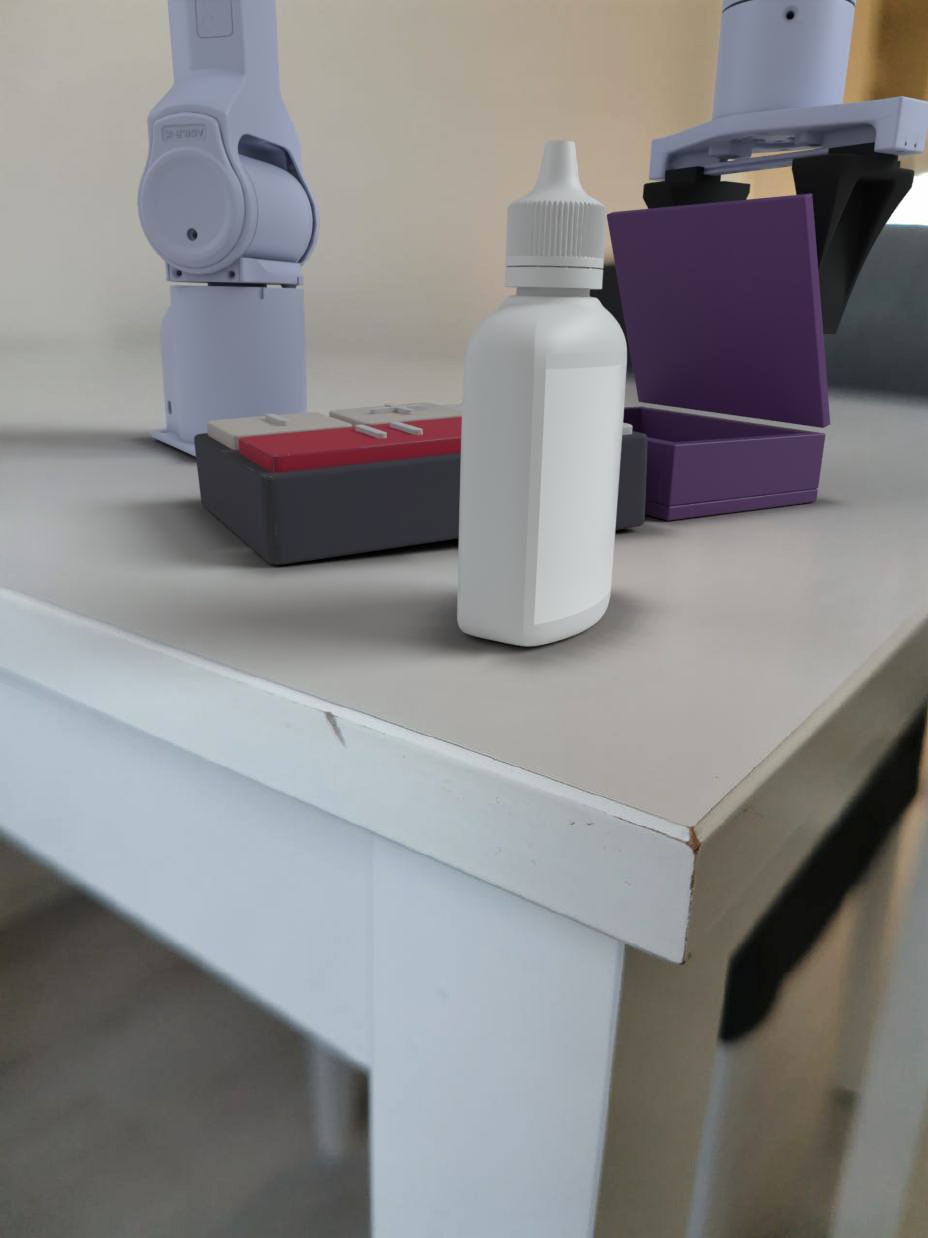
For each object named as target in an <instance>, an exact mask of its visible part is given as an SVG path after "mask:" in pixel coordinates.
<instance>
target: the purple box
mask: <svg viewBox="0 0 928 1238" xmlns="http://www.w3.org/2000/svg"><path fill="white" fill-rule="evenodd" d="M623 423H627V424H630V425H632V431H634V432H639V433H643V434H645V435H647V470H646V497H645V516H649V517H654V518H657V519H660V520H664V521H675V520H676V521H677V520H684V519H693V518H700V517H708V516H716V515H722V514H724V515H725V514H730V513H739V512H745V511H753V510H761V509H762V510H763V509H769V508H775V507H776V508H777V507H785V506H792V505H802V504H807V503H816V502H817V500H818V493H819V485H820V479H821V478H820V477H821V470H822V463H823V455H824V449H825V443H826V442H825V441H826V433H825V432H819V431H812V430H804V429H799V428H791V427H783V426H777V425H771V424H763V423H758V422H757V423H756V422H750V421H743V420H736V419H729V418H722V417H716V416H709V415H702V414H697V413H688V412H682V411H675V410H668V409H661V408H654V407H647V406H624V416H623Z"/></svg>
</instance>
